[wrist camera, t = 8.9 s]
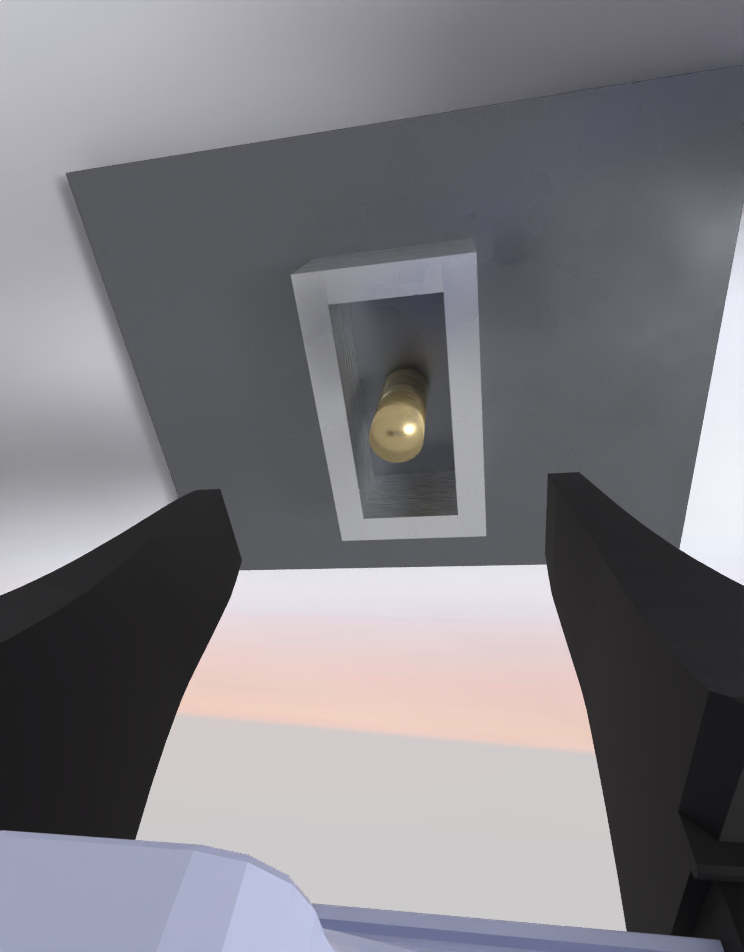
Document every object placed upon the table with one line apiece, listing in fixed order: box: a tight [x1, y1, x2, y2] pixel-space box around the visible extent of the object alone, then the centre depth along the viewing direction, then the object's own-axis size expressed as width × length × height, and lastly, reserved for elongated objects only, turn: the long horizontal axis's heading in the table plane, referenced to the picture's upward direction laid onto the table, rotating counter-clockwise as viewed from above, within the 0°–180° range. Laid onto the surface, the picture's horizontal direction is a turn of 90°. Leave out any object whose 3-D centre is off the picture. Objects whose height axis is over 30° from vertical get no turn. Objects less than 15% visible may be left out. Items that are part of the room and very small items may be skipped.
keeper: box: [66, 65, 744, 570], centre depth 18 cm, size 20×16×5 cm
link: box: [291, 238, 486, 541], centre depth 18 cm, size 9×5×3 cm, turn 7°
